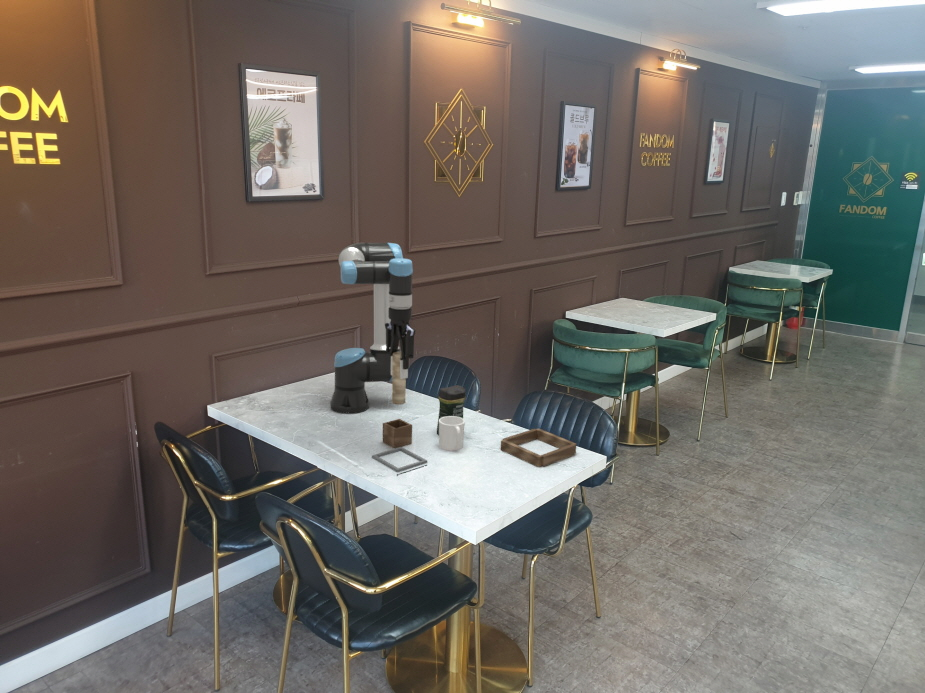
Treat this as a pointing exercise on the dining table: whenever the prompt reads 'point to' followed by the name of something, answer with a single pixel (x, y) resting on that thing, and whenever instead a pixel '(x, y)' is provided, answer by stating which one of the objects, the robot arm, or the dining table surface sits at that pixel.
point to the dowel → (398, 381)
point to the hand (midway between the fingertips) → (399, 376)
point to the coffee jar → (451, 402)
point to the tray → (421, 461)
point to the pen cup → (397, 433)
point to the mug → (451, 433)
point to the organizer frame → (535, 459)
